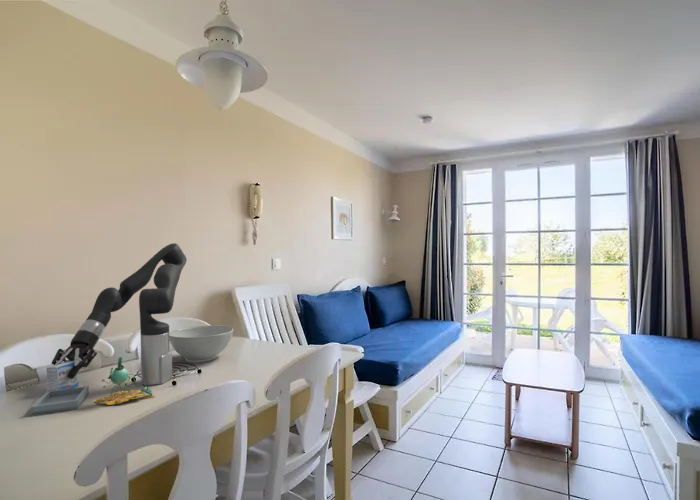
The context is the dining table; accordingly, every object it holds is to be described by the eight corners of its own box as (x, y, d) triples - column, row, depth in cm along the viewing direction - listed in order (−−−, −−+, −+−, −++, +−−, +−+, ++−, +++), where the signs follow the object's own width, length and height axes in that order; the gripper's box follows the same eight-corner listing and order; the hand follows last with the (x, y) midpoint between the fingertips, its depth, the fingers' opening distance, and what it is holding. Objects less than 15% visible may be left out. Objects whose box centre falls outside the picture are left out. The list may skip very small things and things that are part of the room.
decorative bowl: (246, 355, 170) (246, 328, 170) (193, 371, 148) (193, 340, 148) (208, 348, 185) (208, 323, 185) (154, 361, 162) (154, 333, 162)
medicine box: (57, 394, 125) (57, 367, 125) (46, 393, 126) (46, 367, 126) (78, 385, 133) (78, 361, 133) (68, 385, 134) (68, 360, 134)
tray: (88, 393, 125) (88, 385, 125) (78, 408, 112) (78, 400, 112) (47, 399, 120) (47, 391, 120) (31, 415, 108) (31, 406, 108)
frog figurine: (144, 406, 114) (137, 357, 114) (84, 414, 114) (77, 365, 114) (159, 394, 123) (154, 349, 123) (104, 401, 123) (98, 356, 123)
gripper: (111, 340, 143) (86, 383, 130) (76, 340, 144) (48, 382, 132) (101, 329, 137) (73, 372, 125) (64, 329, 139) (34, 371, 127)
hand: (61, 377), depth 129 cm, fingers open, 5 cm apart
